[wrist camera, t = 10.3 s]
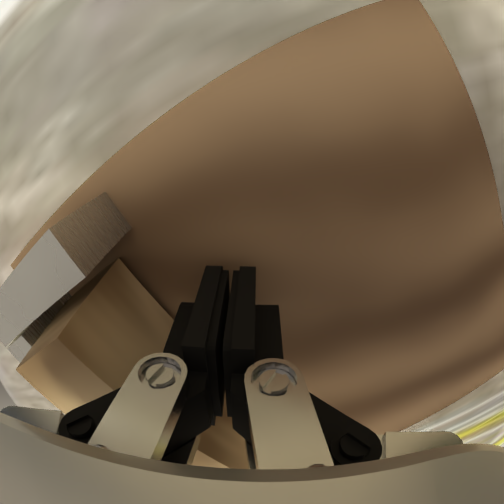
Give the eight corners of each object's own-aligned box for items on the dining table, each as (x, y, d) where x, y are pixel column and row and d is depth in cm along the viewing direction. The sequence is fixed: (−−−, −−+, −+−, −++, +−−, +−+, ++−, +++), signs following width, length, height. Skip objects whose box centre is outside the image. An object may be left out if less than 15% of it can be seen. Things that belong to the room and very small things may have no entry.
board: (498, 359, 15) (504, 368, 14) (256, 467, 20) (256, 477, 19) (401, -1, 7) (413, -9, 6) (22, 256, 12) (10, 265, 11)
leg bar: (293, 421, 14) (299, 494, 10) (227, 441, 16) (222, 506, 11) (126, 252, 10) (65, 332, 6) (65, 302, 11) (12, 372, 7)
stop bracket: (217, 313, 13) (203, 396, 9) (120, 359, 14) (92, 426, 10) (117, 184, 10) (49, 228, 6) (35, 263, 12) (-20, 316, 8)
